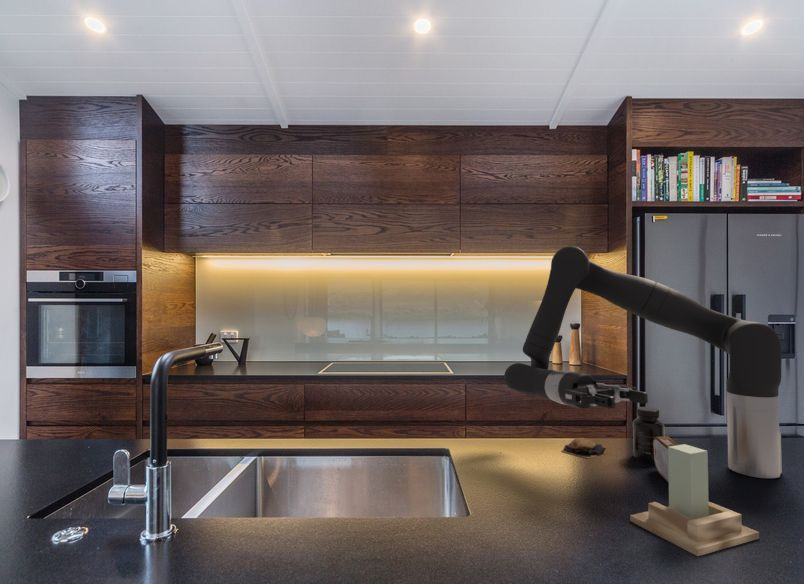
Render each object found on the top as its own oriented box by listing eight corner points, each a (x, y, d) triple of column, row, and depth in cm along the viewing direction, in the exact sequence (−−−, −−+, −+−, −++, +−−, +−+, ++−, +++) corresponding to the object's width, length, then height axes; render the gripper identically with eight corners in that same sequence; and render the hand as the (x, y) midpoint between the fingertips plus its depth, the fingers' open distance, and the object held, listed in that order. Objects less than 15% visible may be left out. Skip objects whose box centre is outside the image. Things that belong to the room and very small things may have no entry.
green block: (686, 514, 80) (684, 444, 80) (709, 525, 76) (707, 450, 76) (669, 518, 78) (668, 446, 78) (691, 529, 74) (690, 453, 75)
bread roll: (589, 462, 111) (588, 446, 111) (557, 453, 118) (557, 438, 118) (611, 453, 118) (611, 438, 118) (580, 445, 124) (580, 431, 125)
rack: (687, 507, 85) (687, 488, 85) (759, 538, 73) (758, 516, 74) (630, 521, 79) (630, 500, 79) (697, 556, 68) (697, 532, 68)
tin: (693, 496, 90) (692, 452, 90) (675, 495, 91) (675, 451, 91) (666, 469, 105) (665, 431, 105) (650, 468, 105) (650, 431, 106)
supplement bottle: (635, 452, 117) (635, 404, 117) (667, 457, 113) (666, 407, 113) (630, 459, 111) (630, 409, 111) (663, 465, 107) (662, 413, 107)
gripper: (543, 374, 102) (601, 384, 87) (593, 369, 107) (655, 377, 92) (545, 408, 102) (603, 424, 87) (595, 402, 107) (657, 415, 92)
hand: (630, 400), depth 89 cm, fingers open, 8 cm apart
